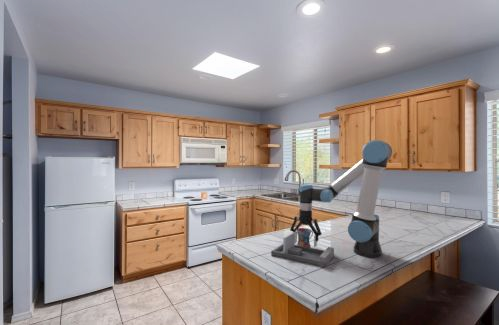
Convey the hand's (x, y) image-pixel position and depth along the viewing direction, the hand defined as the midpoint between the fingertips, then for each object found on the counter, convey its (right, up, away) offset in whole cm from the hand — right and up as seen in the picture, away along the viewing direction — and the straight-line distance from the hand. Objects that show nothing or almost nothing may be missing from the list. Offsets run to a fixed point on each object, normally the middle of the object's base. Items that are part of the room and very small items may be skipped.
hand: (305, 244), depth 158 cm
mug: (0, -2, 0) cm, 2 cm away
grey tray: (-5, -2, -16) cm, 17 cm away
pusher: (-9, -1, -13) cm, 16 cm away
